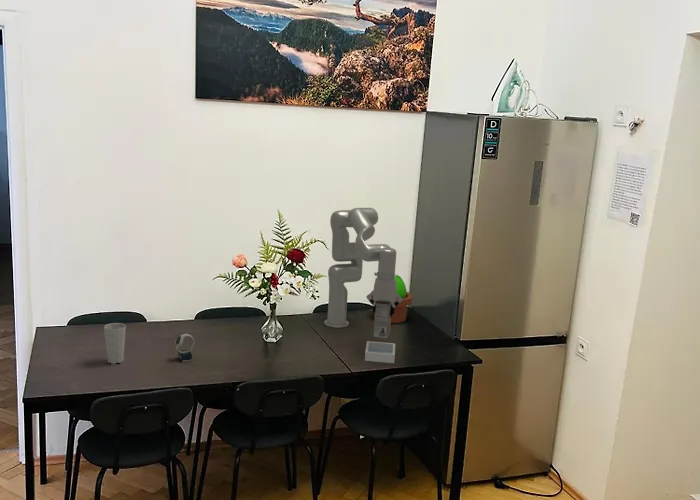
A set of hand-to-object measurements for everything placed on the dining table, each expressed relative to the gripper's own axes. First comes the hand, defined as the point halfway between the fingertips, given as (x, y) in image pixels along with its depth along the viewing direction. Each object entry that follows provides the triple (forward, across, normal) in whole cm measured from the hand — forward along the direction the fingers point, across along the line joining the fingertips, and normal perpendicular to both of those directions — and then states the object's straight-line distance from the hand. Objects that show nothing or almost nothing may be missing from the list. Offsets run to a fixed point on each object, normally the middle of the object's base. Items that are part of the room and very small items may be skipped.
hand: (383, 314), depth 274 cm
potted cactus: (+20, +3, +56) cm, 59 cm away
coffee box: (+9, 0, 0) cm, 9 cm away
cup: (+20, -108, -32) cm, 115 cm away
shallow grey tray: (+20, 0, 0) cm, 20 cm away
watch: (+20, -82, -23) cm, 88 cm away
